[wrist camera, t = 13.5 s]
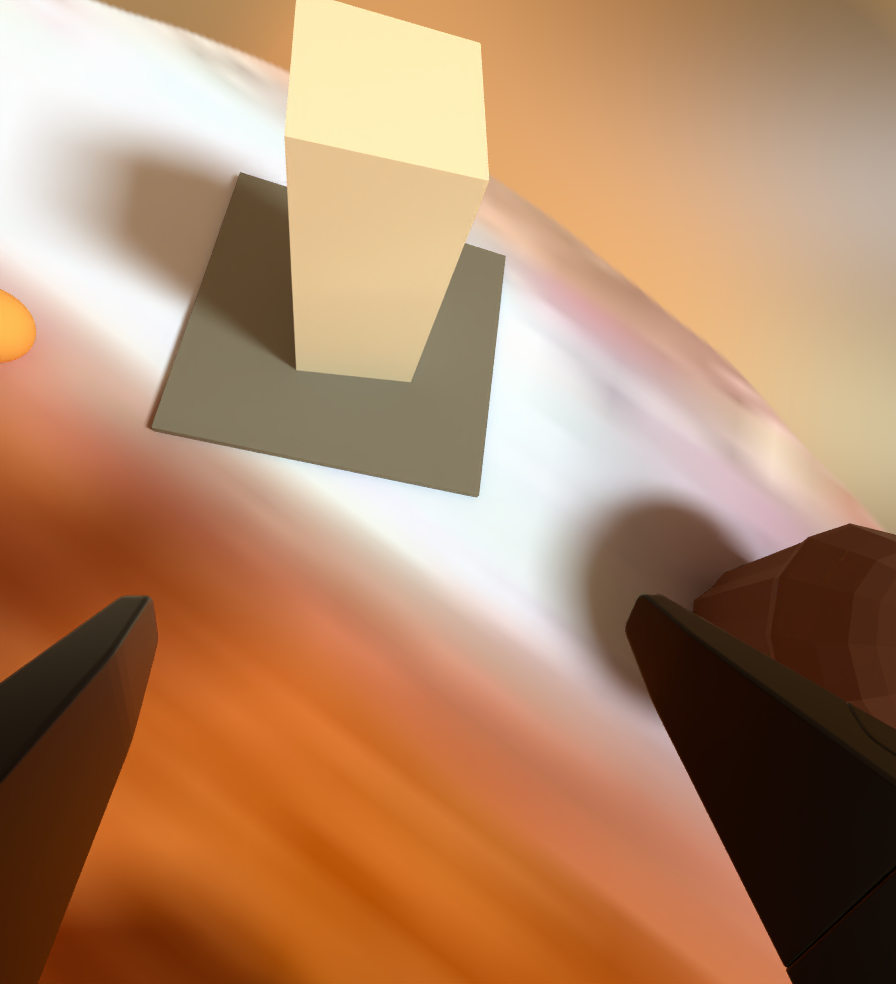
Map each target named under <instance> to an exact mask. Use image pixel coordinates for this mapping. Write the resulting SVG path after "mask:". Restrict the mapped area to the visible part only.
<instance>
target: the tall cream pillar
mask: <svg viewBox="0 0 896 984" xmlns="http://www.w3.org/2000/svg"><path fill="white" fill-rule="evenodd" d="M291 57H292V58H291V68H290V80H289V91H288V103H287V114H286V126H285V154H286V174H287V194H288V214H289V234H290V254H291V274H292V294H293V314H294V334H295V354H296V370H299V371H309V372H318V373H328V374H337V375H347V376H356V377H366V378H375V379H385V380H394V381H404V382H411V380H412V378H413V375H414V372H415V370H416V367H417V365H418V362H419V360H420V357H421V354H422V352H423V349H424V347H425V344H426V342H427V339H428V336H429V334H430V331H431V329H432V326H433V324H434V321H435V319H436V316H437V313H438V311H439V308H440V306H441V303H442V301H443V298H444V295H445V293H446V290H447V288H448V285H449V283H450V280H451V277H452V275H453V272H454V270H455V267H456V265H457V262H458V259H459V257H460V254H461V252H462V249H463V247H464V244H465V241H466V239H467V236H468V234H469V231H470V229H471V226H472V223H473V221H474V218H475V216H476V213H477V211H478V208H479V205H480V203H481V200H482V198H483V195H484V193H485V190H486V188H487V185H488V182H489V171H488V156H487V140H486V124H485V110H484V109H485V108H484V93H483V78H482V61H481V45H480V43H478V42H474V41H471V40H467V39H464V38H460V37H457V36H453V35H450V34H447V33H443V32H440V31H437V30H433V29H430V28H426V27H423V26H420V25H416V24H413V23H409V22H406V21H402V20H399V19H396V18H392V17H389V16H385V15H382V14H378V13H375V12H371V11H368V10H365V9H361V8H357V7H354V6H351V5H348V4H344V3H341V2H337V1H334V0H296V11H295V23H294V34H293V45H292V56H291Z"/></svg>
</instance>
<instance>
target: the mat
mask: <svg viewBox="0 0 896 984" xmlns="http://www.w3.org/2000/svg"><path fill="white" fill-rule="evenodd" d="M505 257H506V256H504V255H501V254H497V253H494V252H491V251H488V250H485V249H482V248H479V247H475V246H472V245H469V244H466V243H465V244H464V247H463V249H462V252H461V254H460V257H459V259H458V262H457V265H456V267H455V270H454V272H453V275H452V277H451V280H450V283H449V285H448V288H447V290H446V293H445V295H444V298H443V301H442V303H441V306H440V308H439V311H438V313H437V316H436V319H435V321H434V324H433V326H432V329H431V331H430V334H429V336H428V339H427V342H426V344H425V347H424V349H423V352H422V354H421V357H420V360H419V362H418V365H417V367H416V370H415V372H414V375H413V378H412V380H411V382H404V381H394V380H385V379H375V378H366V377H356V376H347V375H337V374H328V373H318V372H309V371H299V370H296V354H295V334H294V314H293V294H292V274H291V254H290V234H289V214H288V194H287V187H285V186H282V185H279V184H276V183H273V182H270V181H266V180H263V179H260V178H257V177H254V176H251V175H247V174H244V173H241V172H240V175H239V178H238V180H237V183H236V186H235V189H234V192H233V195H232V198H231V201H230V203H229V206H228V209H227V212H226V215H225V218H224V221H223V223H222V226H221V229H220V232H219V235H218V238H217V241H216V243H215V246H214V249H213V252H212V255H211V258H210V261H209V264H208V266H207V269H206V272H205V275H204V278H203V281H202V284H201V286H200V289H199V292H198V295H197V298H196V301H195V304H194V307H193V309H192V312H191V315H190V318H189V321H188V324H187V327H186V329H185V332H184V335H183V338H182V341H181V344H180V347H179V349H178V352H177V355H176V358H175V361H174V364H173V367H172V370H171V372H170V375H169V378H168V381H167V384H166V387H165V390H164V392H163V395H162V398H161V401H160V404H159V407H158V410H157V413H156V415H155V418H154V421H153V424H152V427H151V428H152V429H153V430H154V431H156V432H161V433H166V434H171V435H176V436H180V437H185V438H190V439H195V440H200V441H205V442H210V443H214V444H219V445H224V446H229V447H234V448H239V449H244V450H248V451H253V452H258V453H263V454H268V455H273V456H278V457H283V458H287V459H292V460H297V461H302V462H307V463H312V464H317V465H321V466H326V467H331V468H336V469H341V470H346V471H351V472H355V473H360V474H365V475H370V476H375V477H380V478H385V479H390V480H394V481H399V482H404V483H409V484H414V485H419V486H424V487H428V488H433V489H438V490H443V491H448V492H453V493H458V494H463V495H467V496H472V497H478V496H479V491H480V482H481V473H482V464H483V455H484V446H485V437H486V428H487V419H488V410H489V401H490V392H491V383H492V374H493V365H494V356H495V347H496V338H497V329H498V320H499V311H500V302H501V293H502V284H503V275H504V266H505Z"/></svg>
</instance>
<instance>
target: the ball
mask: <svg viewBox="0 0 896 984" xmlns="http://www.w3.org/2000/svg"><path fill="white" fill-rule="evenodd" d="M35 337H36V327H35V322H34V320H33V317H32V315H31V314H30V312H29V311H28V309H27V308H26V307H25V306H24V305H23V304H22V303H21V302H20V301H19V300H18V299H16V298H15V297H14V296H12V295H11V294H9V293H7V292H5V291H3V290H1V289H0V363H3V362H9V361H13V360H16V359H18V358H20V357H22V356H23V355H25V354H26V353H27V352H28V351H29V350H30V348H31V347H32V345H33V344H34V341H35Z"/></svg>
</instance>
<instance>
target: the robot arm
mask: <svg viewBox="0 0 896 984" xmlns="http://www.w3.org/2000/svg"><path fill="white" fill-rule="evenodd" d="M625 631H626V636H627V639H628V641H629V644H630V646H631V649H632V651H633V654H634V657H635V659H636V662H637V664H638V667H639V669H640V672H641V675H642V677H643V680H644V682H645V685H646V687H647V690H648V693H649V695H650V697H651V700H652V702H653V704H654V707H655V709H656V711H657V713H658V715H659V717H660V719H661V721H662V723H663V725H664V727H665V729H666V731H667V733H668V735H669V737H670V739H671V741H672V743H673V745H674V747H675V749H676V751H677V753H678V755H679V757H680V759H681V761H682V763H683V765H684V767H685V769H686V771H687V773H688V775H689V777H690V779H691V781H692V783H693V785H694V787H695V789H696V791H697V793H698V795H699V797H700V799H701V801H702V803H703V805H704V807H705V809H706V811H707V813H708V815H709V817H710V819H711V821H712V823H713V825H714V827H715V829H716V831H717V833H718V835H719V837H720V839H721V841H722V843H723V845H724V847H725V849H726V851H727V853H728V855H729V857H730V859H731V861H732V863H733V865H734V867H735V869H736V871H737V873H738V875H739V877H740V879H741V881H742V883H743V885H744V887H745V889H746V891H747V893H748V895H749V897H750V899H751V901H752V903H753V905H754V907H755V909H756V911H757V913H758V915H759V917H760V919H761V921H762V923H763V925H764V927H765V929H766V931H767V933H768V935H769V937H770V939H771V941H772V943H773V945H774V947H775V949H776V951H777V953H778V955H779V957H780V959H781V961H782V963H783V965H784V966H785V967H787V968H786V972H787V974H788V976H789V978H790V980H791V982H792V984H896V729H894V728H892V727H891V726H889V725H887V724H885V723H884V722H882V721H880V720H878V719H876V718H875V717H873V716H871V715H869V714H868V713H866V712H864V711H862V710H861V709H859V708H857V707H856V706H854V705H852V704H850V703H846V702H845V701H844V700H843V699H842V698H840V697H838V696H836V695H835V694H833V693H831V692H829V691H828V690H826V689H824V688H822V687H821V686H819V685H817V684H816V683H814V682H812V681H810V680H809V679H807V678H805V677H803V676H802V675H800V674H798V673H796V672H795V671H793V670H791V669H790V668H788V667H786V666H784V665H783V664H781V663H779V662H777V661H776V660H774V659H772V658H770V657H769V656H767V655H765V654H764V653H762V652H760V651H758V650H757V649H755V648H753V647H751V646H750V645H748V644H746V643H744V642H743V641H741V640H739V639H738V638H736V637H734V636H732V635H731V634H729V633H727V632H725V631H724V630H722V629H720V628H718V627H717V626H715V625H713V624H712V623H710V622H708V621H706V620H705V619H703V618H701V617H699V616H698V615H696V614H694V613H692V612H691V611H689V610H687V609H686V608H684V607H682V606H680V605H679V604H677V603H675V602H673V601H672V600H670V599H668V598H667V597H665V596H663V595H661V594H657V593H644V594H640V595H639V596H638V597H637V599H636V601H635V603H634V605H633V607H632V610H631V612H630V614H629V617H628V619H627V621H626V625H625ZM157 641H158V632H157V625H156V617H155V610H154V603H153V600H152V598H151V597H149V596H122V597H120V598H118V599H116V600H115V601H114V602H112V603H111V604H109V605H108V606H107V607H105V608H104V609H103V610H101V611H100V612H98V613H97V614H96V615H94V616H93V617H91V618H90V619H89V620H87V621H86V622H84V623H83V624H82V625H80V626H79V627H77V628H76V629H75V630H73V631H72V632H70V633H69V634H68V635H66V636H65V637H63V638H62V639H61V640H59V641H58V642H57V643H55V644H54V645H52V646H51V647H50V648H48V649H47V650H45V651H44V652H43V653H41V654H40V655H38V656H37V657H36V658H34V659H33V660H31V661H30V662H29V663H27V664H26V665H24V666H23V667H22V668H20V669H19V670H17V671H16V672H15V673H13V674H12V675H11V676H9V677H8V678H6V679H5V680H4V681H2V682H1V683H0V984H38V981H39V979H40V976H41V974H42V971H43V968H44V966H45V963H46V961H47V958H48V956H49V953H50V950H51V948H52V945H53V943H54V940H55V938H56V935H57V933H58V930H59V927H60V925H61V922H62V920H63V917H64V915H65V912H66V909H67V907H68V904H69V902H70V899H71V897H72V894H73V892H74V889H75V886H76V884H77V881H78V879H79V876H80V874H81V871H82V868H83V866H84V863H85V861H86V858H87V856H88V853H89V851H90V848H91V845H92V843H93V840H94V838H95V835H96V833H97V830H98V827H99V825H100V822H101V820H102V817H103V815H104V812H105V810H106V807H107V804H108V802H109V799H110V797H111V794H112V792H113V789H114V786H115V784H116V781H117V779H118V776H119V774H120V771H121V769H122V766H123V763H124V761H125V758H126V756H127V753H128V750H129V747H130V745H131V742H132V739H133V735H134V732H135V728H136V725H137V721H138V717H139V713H140V710H141V706H142V702H143V698H144V694H145V690H146V687H147V683H148V679H149V675H150V671H151V667H152V664H153V660H154V656H155V652H156V648H157Z"/></svg>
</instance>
